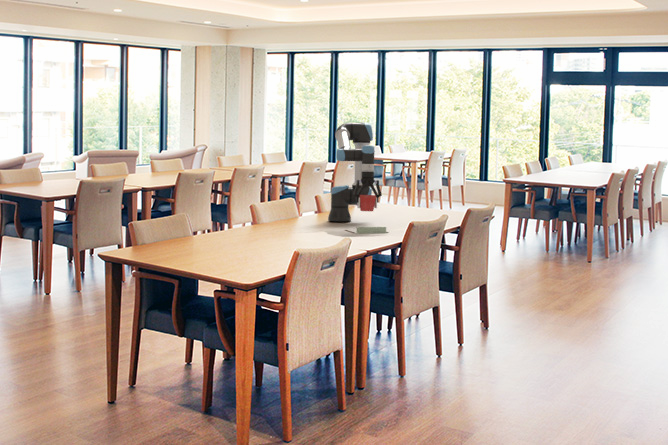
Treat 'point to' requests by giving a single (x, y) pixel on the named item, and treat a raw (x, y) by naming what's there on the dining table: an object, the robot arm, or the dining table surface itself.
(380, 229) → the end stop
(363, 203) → the flower pot
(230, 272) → the dining table surface
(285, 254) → the dining table surface
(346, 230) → the guide strips
